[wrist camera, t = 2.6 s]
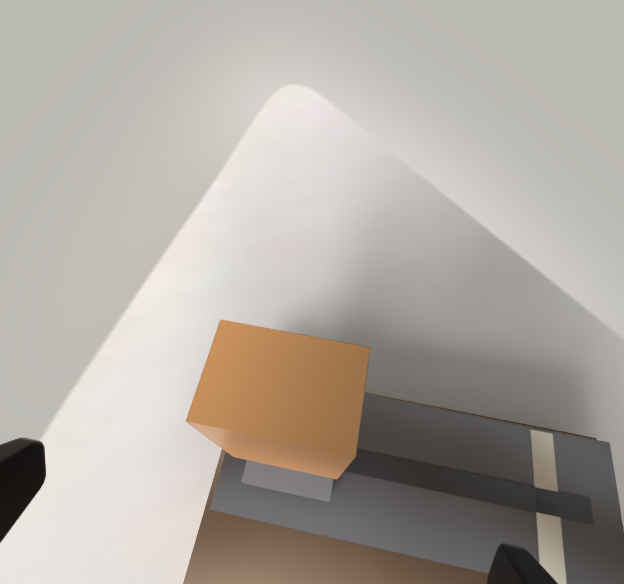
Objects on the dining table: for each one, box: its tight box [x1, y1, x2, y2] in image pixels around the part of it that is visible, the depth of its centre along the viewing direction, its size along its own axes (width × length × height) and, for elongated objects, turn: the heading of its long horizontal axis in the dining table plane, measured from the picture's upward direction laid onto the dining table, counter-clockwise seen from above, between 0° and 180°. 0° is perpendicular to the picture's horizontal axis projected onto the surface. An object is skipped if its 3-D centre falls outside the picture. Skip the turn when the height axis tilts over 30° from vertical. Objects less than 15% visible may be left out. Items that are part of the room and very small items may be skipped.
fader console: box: [183, 393, 624, 584], centre depth 14 cm, size 12×15×3 cm
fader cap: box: [186, 320, 370, 502], centre depth 11 cm, size 3×3×8 cm
